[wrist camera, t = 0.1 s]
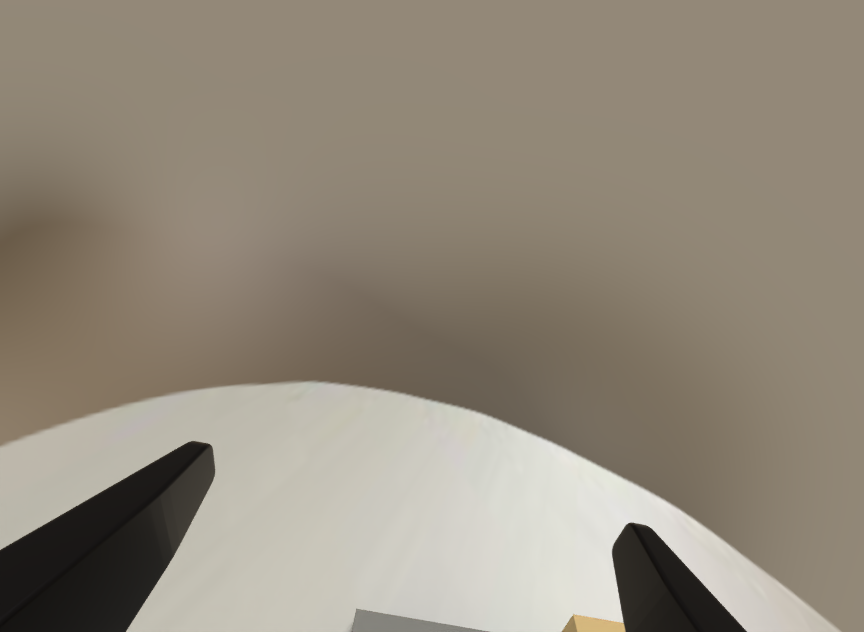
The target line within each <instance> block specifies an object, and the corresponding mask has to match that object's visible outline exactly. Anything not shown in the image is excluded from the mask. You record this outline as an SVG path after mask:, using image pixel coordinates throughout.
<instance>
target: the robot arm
mask: <svg viewBox="0 0 864 632" xmlns="http://www.w3.org/2000/svg"><path fill="white" fill-rule="evenodd" d="M214 476H215V464H214V455H213V448H212V446H211V445H210V444H207V443H202V442H197V441H191V442H188V443H186V444H184V445H182V446H181V447H179V448H177V449H175V450H174V451H172V452H170V453H168V454H167V455H165V456H163V457H161V458H160V459H158V460H156V461H155V462H153V463H151V464H149V465H148V466H146V467H144V468H142V469H141V470H139V471H137V472H135V473H134V474H132V475H130V476H128V477H127V478H125V479H123V480H121V481H120V482H118V483H116V484H114V485H113V486H111V487H109V488H107V489H106V490H104V491H102V492H100V493H99V494H97V495H95V496H94V497H92V498H90V499H88V500H87V501H85V502H83V503H81V504H80V505H78V506H76V507H74V508H73V509H71V510H69V511H67V512H66V513H64V514H62V515H60V516H59V517H57V518H55V519H53V520H52V521H50V522H48V523H46V524H45V525H43V526H41V527H39V528H38V529H36V530H34V531H33V532H31V533H29V534H27V535H26V536H24V537H22V538H20V539H19V540H17V541H15V542H13V543H12V544H10V545H8V546H6V547H5V548H3V549H1V550H0V632H126V631H127V629H128V627H129V626H130V624H131V623H132V621H133V620H134V618H135V616H136V615H137V613H138V612H139V610H140V609H141V607H142V606H143V604H144V602H145V601H146V599H147V598H148V596H149V595H150V593H151V591H152V590H153V588H154V587H155V585H156V584H157V582H158V581H159V579H160V577H161V576H162V574H163V573H164V571H165V570H166V568H167V566H168V565H169V563H170V561H171V560H172V558H173V557H174V555H175V553H176V551H177V549H178V547H179V546H180V544H181V542H182V540H183V538H184V536H185V534H186V532H187V530H188V528H189V526H190V524H191V522H192V520H193V519H194V517H195V515H196V513H197V511H198V509H199V507H200V505H201V503H202V501H203V499H204V497H205V495H206V493H207V491H208V490H209V488H210V486H211V484H212V482H213V479H214ZM612 557H613V563H614V569H615V575H616V581H617V586H618V592H619V598H620V604H621V610H622V616H623V621H624V627H625V632H747V631H746V630H745V629H744V628H743V627H742V626H741V625H740V624H739V623H738V622H737V620H736V619H735V618H734V617H733V616H732V615H731V614H730V613H729V612H728V611H727V610H726V609H725V607H724V606H723V605H722V604H721V603H720V602H719V601H718V600H717V599H716V598H715V597H714V596H713V594H712V593H711V592H710V591H709V590H708V589H707V588H706V587H705V586H704V585H703V584H702V583H701V581H700V580H699V579H698V578H697V577H696V576H695V575H694V574H693V573H692V572H691V571H690V570H689V568H688V567H687V566H686V565H685V564H684V563H683V562H682V561H681V560H680V559H679V558H678V557H677V555H676V554H675V553H674V552H673V551H672V550H671V549H670V548H669V547H668V546H667V545H666V544H665V542H664V541H663V540H662V539H661V538H660V537H659V536H658V535H657V534H656V533H655V532H654V531H653V530H652V529H651V528H650V527H648V526H646V525H642V524H636V523H628V524H627V525H626V526H625V527H624V529H623V530H622V532H621V534H620V535H619V537H618V538H617V540H616V541H615V543H614V545H613V549H612Z"/></svg>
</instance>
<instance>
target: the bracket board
mask: <svg viewBox="0 0 864 632" xmlns="http://www.w3.org/2000/svg"><path fill="white" fill-rule="evenodd" d="M352 632H488V631H482V630H476V629H470V628H465V627H459V626H453V625H447V624H441V623H436V622H430V621H424V620H418V619H412V618H406V617H401V616H395V615H389V614H383V613H377V612H372V611H366V610H360V609H356V613H355V618H354V623H353V627H352ZM562 632H625V627H624V623H620V622H614V621H608V620H602V619H597V618H591V617H585V616H580V615H574V614H573V616H572V617H571V619H570V620H569V622H568V623H567V625H566V626H565V628H564V629H563V631H562Z"/></svg>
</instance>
